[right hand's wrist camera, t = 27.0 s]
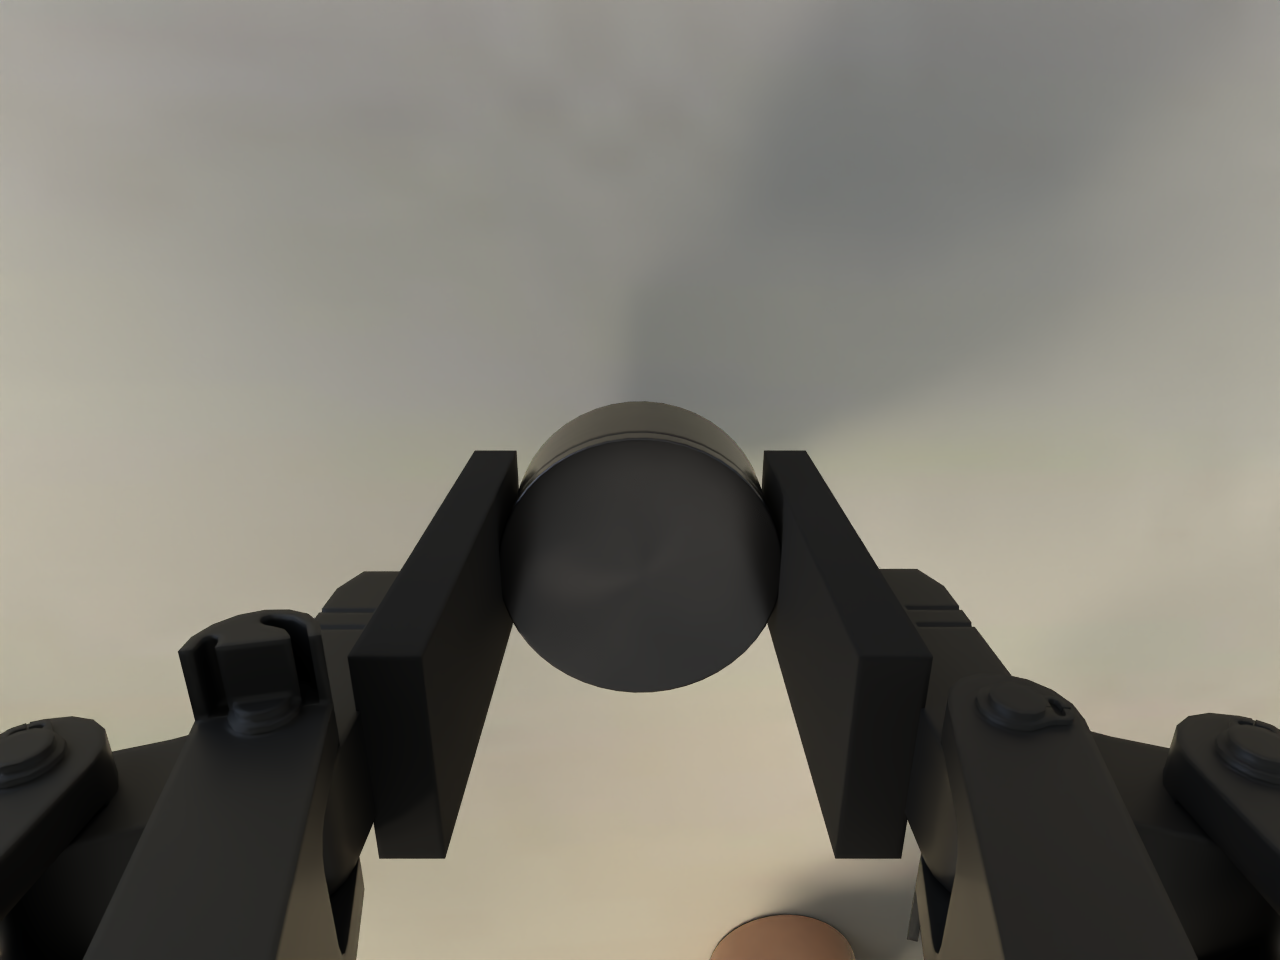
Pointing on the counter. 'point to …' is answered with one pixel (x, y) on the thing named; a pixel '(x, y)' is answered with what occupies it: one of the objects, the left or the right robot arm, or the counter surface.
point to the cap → (640, 549)
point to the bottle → (784, 941)
